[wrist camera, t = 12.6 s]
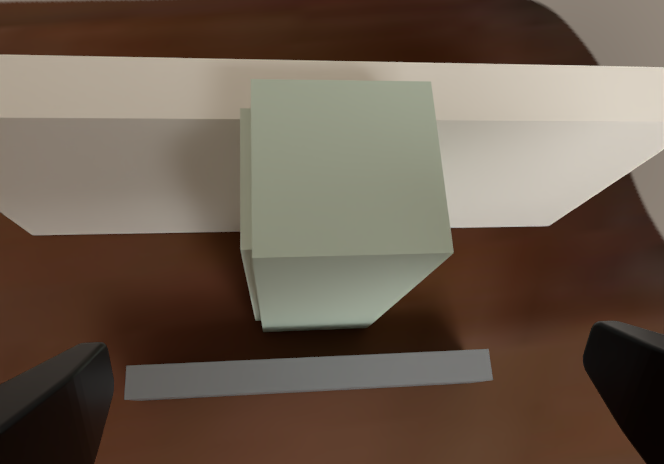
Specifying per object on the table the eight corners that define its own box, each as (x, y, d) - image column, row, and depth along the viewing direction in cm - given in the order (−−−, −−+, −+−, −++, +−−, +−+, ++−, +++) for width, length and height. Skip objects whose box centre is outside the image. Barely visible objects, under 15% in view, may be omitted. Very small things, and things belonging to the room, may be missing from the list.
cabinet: (367, 327, 24) (453, 252, 12) (256, 332, 23) (238, 258, 12) (359, 230, 25) (430, 81, 14) (255, 232, 24) (238, 79, 13)
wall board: (577, 377, 24) (777, 356, 14) (10, 407, 21) (-206, 406, 12) (541, 188, 27) (688, 67, 17) (37, 193, 24) (-117, 52, 14)
